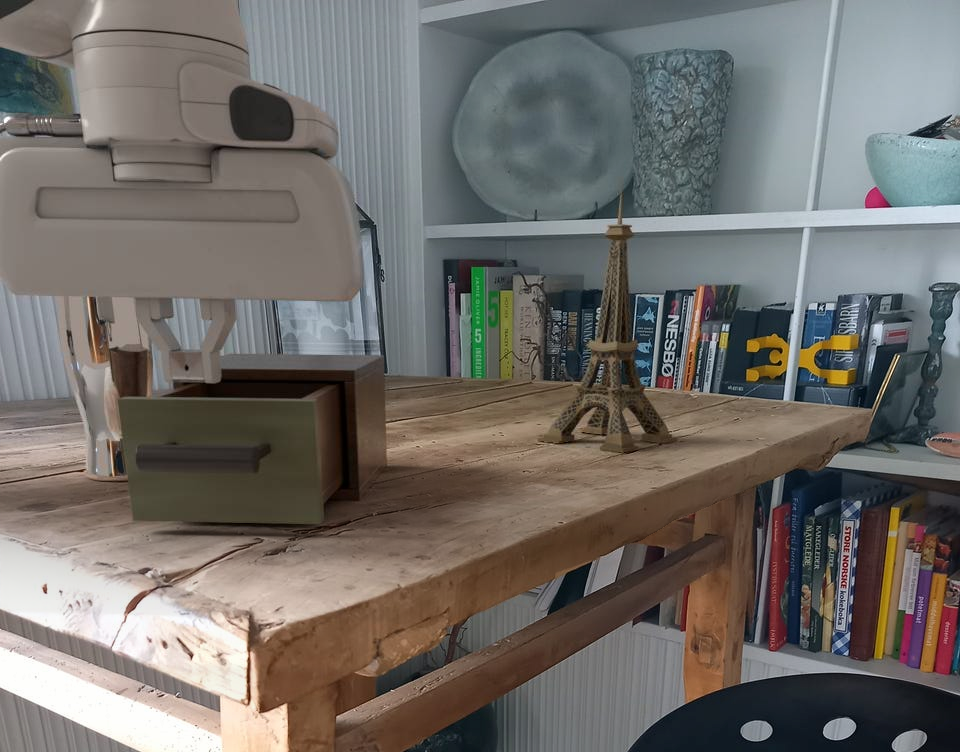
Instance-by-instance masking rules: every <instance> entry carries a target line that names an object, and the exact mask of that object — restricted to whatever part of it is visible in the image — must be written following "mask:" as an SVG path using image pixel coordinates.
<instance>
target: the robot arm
mask: <svg viewBox="0 0 960 752" xmlns="http://www.w3.org/2000/svg"><path fill="white" fill-rule="evenodd" d="M0 48H3V49H7V50H9V51H13V52H15V53H16V52H17V53H20V54H22V55H24V56H27V57H29V58H30V59H31V58H32V59H35V60H39V61H42V62H45V63H49V64H52V65H56V66H59V67H62V68H66V69H69V70H73V71H75V80H76V89H77V97H78V104H79V105H78V106H79V112H80V113H53V114H51V113H50V114H43V115H33V114H30V113H25V112H23V113H21V112H19V113H18V112H17V113H10V114H6V115H5V117H4V118H3V121H2V122H0V281H1V282H2V283H3V285H4V286H5V287H6V288H7V289H8V290H9V291H10V292H11V294H13V295H15V296H33V297H35V296H37V297H39V296H40V297H41V296H42V297H57V296H83V297H134V298H135V304H136V313H137V320H138V321H139V323H140V324H141V326H142V327H143V329H144V330H145V332H146V333H147V335H148V336H149V338H150V339H151V341H152V345H154V347H155V349H156V350H157V351H159V352H160V361H161V371H162V378H163V380H164V382H165V383H170V384H171V383H172V384H173V383H174V382H175V383H217V382H220V381H221V362H220V356H221V352H220V351H222V350H223V348H224V346H225V344H226V342H227V339H228V338H229V335H230V334H231V331H232V329H233V328H234V326H235V324H236V321H237V312H236V311H237V310H236V309H237V308H236V300H242V301H243V300H244V301H291V302H293V301H294V302H298V301H299V302H349V301H352V300H354V298H355V297H356V296H357V295H358V294H359V292H361V289H362V288H363V286H364V282H365V266H364V265H365V264H364V251H363V250H364V249H363V243H362V233H361V226H360V220H359V214H358V209H357V204H356V198H355V195H354V192H353V188H352V186H351V183H350V181H349V179H348V178H347V176H346V174H345V173H344V172H343V171H342V170H341V169H340V168H339V167H337V166H336V165H335V164H333V162H330V160H332V159H334V158H335V157H336V156H337V154H338V151H339V142H340V141H339V130H338V129H339V128H338V126H337V124H336V122H335V120H334V118H332V117H331V116H330V114H329V113H327V111H325V110H324V109H323V108H321V107H320V106H318V105H316V104H314V103H313V102H311V101H308V100H306V99H304V98H302V97H300V96H297V95H295V94H292V93H289V92H286V91H283V89H280V88H279V87H276V86H275V85H270V84H269V83H268V84H267V83H264V82H263V83H261V82H258V81H256V80H253V79H252V77H251V76H252V75H251V64H250V63H251V62H250V50H249V49H250V48H249V44H248V40H247V37H246V33H245V31H244V28H243V24H242V21H241V15H240V8H239V0H0ZM4 132H6V133H7V134H8V135H9V136H8V135H7V136H5V135H4V136H2V135H1V134H2V133H4ZM173 299H186V300H187V299H190V300H199V309H200V318H201V320H202V321H211V322H210V325H209V327H208V329H207V331H206V333H205V336H204V338H203V341H202V343H201V345H200V347H199V349H190V348H189V349H187V348H186V349H185V348H183V347H182V345H181V344H180V342H179V341H178V339H177V337H176V335H175V334H174V333H173V330H172V329H171V327H170V326H169V323H167V320H166V319H173V318H174V317H175V313H174V312H175V311H174V302H173Z"/></svg>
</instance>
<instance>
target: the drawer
mask: <svg viewBox="0 0 960 752" xmlns="http://www.w3.org/2000/svg"><path fill="white" fill-rule="evenodd" d="M117 400H118V408H119V415H120V423H121V431H122V438H123V446H124V454H125V461H126V469H127V477H128V481H127V483H128V484H127V485H128V491H129V499H130V508H131V515H132V521H134V522H176V523H177V522H184V523H186V522H187V523H233V524H234V523H237V524H239V523H240V524H281V525H282V524H287V525H289V524H290V525H296V524H297V525H321V524H322V523H323V522H324V520H325V513H324V512H325V511H324V504H325V503H326V502H327V501H328V499H329V498H330V497H331V495H332V494H333V493H334V492H335V491H336V490H337V489H338V488H339V487H340V486H341V485H342V484H343V483H344V481H345V480H346V479H347V457H346V435H345V412H344V390H343V382H263V381H220V382H217V383H191V384H188V385H185V386H181V387H178V388H175V389H173V388H172V389H168V390H165V391H162V392H158V393H155V394H152V395H151V396H148V397H122V398H119V399H117Z"/></svg>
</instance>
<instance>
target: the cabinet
mask: <svg viewBox="0 0 960 752" xmlns="http://www.w3.org/2000/svg"><path fill="white" fill-rule="evenodd" d="M220 362H221V381H263V382H343V390H344V412H345V435H346V457H347V479H346V480H345V481H344V483H343V484H342V485H341V486H340V487H339V488H338V489H337V490H336V491H335V492H334V493H333V494H332V495H331V497H330V498H329V499H328V500H330V501H331V500H332V501H333V500H335V501H361V499H362V498H363V497H364V495H365V494H366V493H367V491H368V490H369V489H370V487H371V486H372V485H373V484H374V483H375V481H376V480H377V479H378V477H379V476H380V475H381V473H382V472H383V471H384V470H385V468H386V467H387V466H388V457H387V455H388V452H387V451H388V450H387V418H386V414H387V413H386V386H385V385H386V384H385V381H386V380H385V356H384V355H383V354H312V353H311V354H307V353H306V354H301V353H297V354H295V353H291V354H290V353H228V354H223V355H220ZM188 384H191V383H175V382H174V383H172V389H175V388H178V387H181V386H185V385H188ZM328 500H327V501H328Z"/></svg>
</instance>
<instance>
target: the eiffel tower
mask: <svg viewBox="0 0 960 752" xmlns="http://www.w3.org/2000/svg"><path fill="white" fill-rule="evenodd" d="M623 179H624V178H623V177H622V178H621V183H620V194H619V206H618V214H617V215H618V216H617V224H607V225H606V227H607V230H606V231H605V233H604V234H603V236H604V237H605V238H607V239H608V240H610V244H609V250H608V257H607V264H606V269H605V277H604V283H603V290H602V296H601V300H600V301H601V302H600V307H599V314H598V321H597V325H596V331H595V332H596V333H595V339H594V340H592V339H589V341H588V345H587V349H590V353H591V354H590V358H589V360H588V364H587V368H586V370H585V373H584V375H583V378H582V379H581V382H580V384H579V385H577V384H575V385H574V386H575V389H576V391H577V393H576V394H574V396H573V397H572V398H571V400H570V401H569V403H568V404H567V405H566V406H565V407H564V409H563V410H562V411H561V413H559V415H558V416H557V417H556V419H555V420H554V422H552V423H551V425H550V426H549V429H548V431H547V433H546V434H543V436H542V437H538V438H537V442H540V441H544V442H543V443H547V442H553V443H552V444H555V443H562V444H564V443H563V442H567V443H569V442H568V441H572V442H574V441H575V435H576V434H573V432H574V430H575V428H576V427H577V425H578V424H579V423H580V422H581V420H582V419H583V418H584V416H585V415H586V414H588V413H589V412H590V411H592V410H593V409H594V408H595V409H594V411H593V412H592V414H591V415H590V417H589V419H588V420H587V422H586V426H584V428H583V429H580V433H581V432H587V433H594V434H605V433H607V434H606V435H605V441H604V442H603V441H602V444H601V445H600V446H599V450H600V451H606V452H614V453H620V452H621V454H624V452H625V453H628V451H629V452H633V451H637V450H639V445H635V443H636V442H635V441H633V436H632V434H631V432H630V428H629V427H628V424H627V422H626V419H625V416H624V414H623V412H624V410H625V409H628V410H629V411H630V412H631V413H632V414H633V415H634V416H635V418H636V420H637V422H638V423H639V425H640V427H641V429H642V430H643V432H644V433H642V434H641V438H640V439H641V442H648V443H657V444H667V443H671V442H672V443H673V442H676V441H678V437H677V436H673V433H670V432H669V429H668V426H667V424H666V423H665V421H664V420H663V419H662V417H661V415H660V414H659V412H658V411H657V409H656V408H655V406H654V405H653V404H652V403H651V401H650V399H649V398H648V397H647V395H646V393H645V392H644V391H645V389H646V387H647V384H644V385H643V384H642V380H641V378H640V376H639V373H638V369H637V368H638V367H637V363H636V360H635V350H636V349H638V348H639V343H638V340H637V339H633V338H632V324H631V304H630V285H629V284H630V282H629V264H628V263H629V262H628V240H629V239H631V238H633V237H635V234H634V232H633V231H632V229H631V228H633V225H632V224H624V223H623V182H624V180H623ZM632 339H633V340H632ZM621 361H622V362H623V363H622V365H623V370H624V373H625V380H626V382H627V384H628V385H626V384H623V381H622V368H621ZM602 362H603V366H602V372H601V377H600V382H599V383H598V384H595V383H596V381H597V378H598V374H599V371H600V368H601V364H602ZM573 440H574V441H573Z"/></svg>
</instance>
